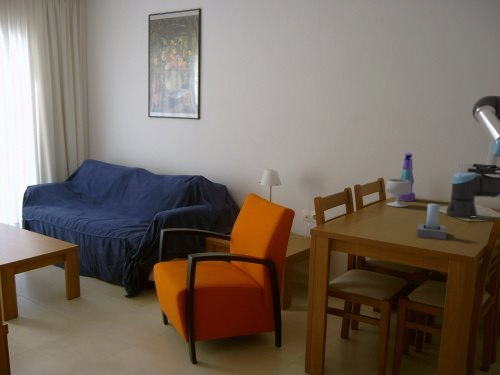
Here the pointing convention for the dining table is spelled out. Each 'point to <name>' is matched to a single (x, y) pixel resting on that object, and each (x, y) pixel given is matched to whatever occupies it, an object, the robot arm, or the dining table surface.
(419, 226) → the socket block
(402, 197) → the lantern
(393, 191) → the chalice
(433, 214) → the peg
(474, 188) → the robot arm
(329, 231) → the dining table surface
